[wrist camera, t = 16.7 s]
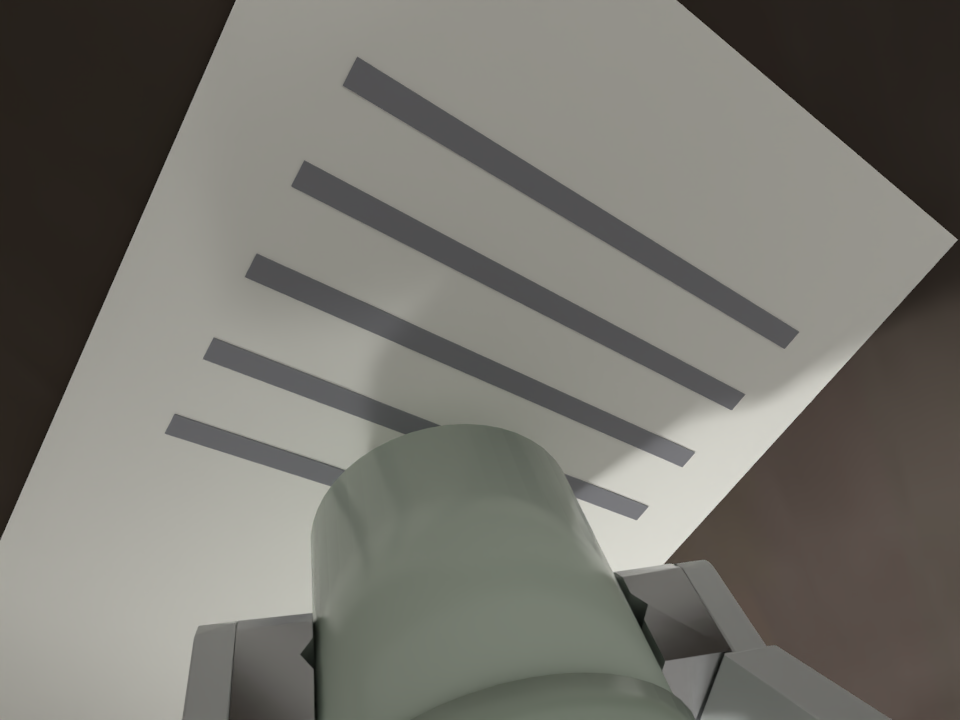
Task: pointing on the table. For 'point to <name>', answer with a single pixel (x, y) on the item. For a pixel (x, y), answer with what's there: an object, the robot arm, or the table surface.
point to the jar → (471, 591)
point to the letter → (434, 308)
